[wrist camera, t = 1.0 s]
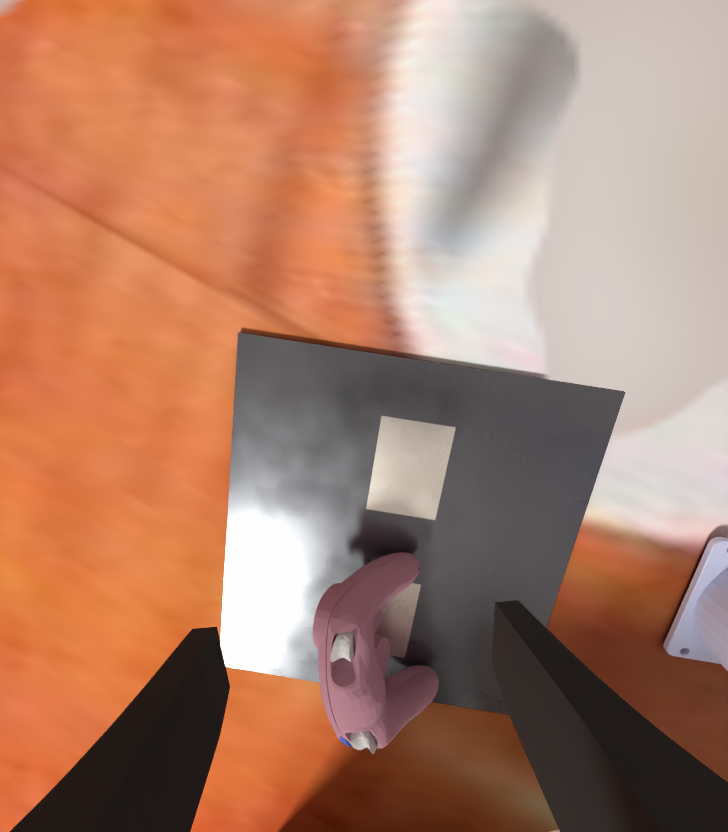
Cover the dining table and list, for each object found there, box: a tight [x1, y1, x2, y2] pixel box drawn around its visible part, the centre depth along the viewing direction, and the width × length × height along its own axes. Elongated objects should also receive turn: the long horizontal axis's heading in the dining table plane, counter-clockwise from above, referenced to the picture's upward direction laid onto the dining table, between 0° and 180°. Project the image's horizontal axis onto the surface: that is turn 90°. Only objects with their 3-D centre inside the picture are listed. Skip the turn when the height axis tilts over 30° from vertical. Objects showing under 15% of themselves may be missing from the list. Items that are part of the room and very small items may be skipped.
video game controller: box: [313, 552, 439, 754], centre depth 21 cm, size 10×5×7 cm, turn 10°
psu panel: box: [220, 332, 625, 715], centre depth 22 cm, size 20×22×1 cm
